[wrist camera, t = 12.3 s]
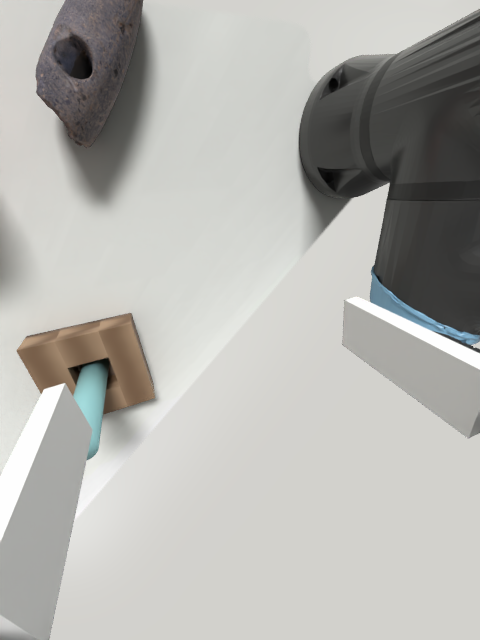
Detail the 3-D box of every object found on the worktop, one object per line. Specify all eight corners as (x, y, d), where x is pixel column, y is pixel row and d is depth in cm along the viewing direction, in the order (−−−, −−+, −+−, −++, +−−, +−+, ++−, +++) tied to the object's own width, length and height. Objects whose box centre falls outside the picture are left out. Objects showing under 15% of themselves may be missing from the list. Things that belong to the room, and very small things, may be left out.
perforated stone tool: (108, -50, 23) (101, -137, 17) (165, 11, 25) (175, -46, 19) (35, 118, 25) (6, 94, 19) (93, 157, 28) (84, 147, 22)
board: (131, 312, 35) (131, 323, 32) (153, 383, 41) (155, 398, 38) (26, 336, 32) (16, 350, 29) (66, 409, 37) (60, 427, 34)
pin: (104, 352, 36) (91, 430, 24) (112, 371, 37) (103, 454, 25) (78, 358, 35) (51, 444, 23) (87, 378, 36) (65, 467, 24)
